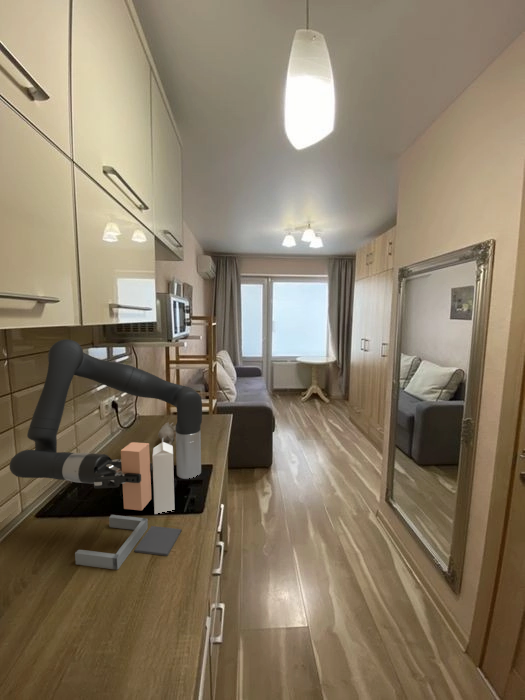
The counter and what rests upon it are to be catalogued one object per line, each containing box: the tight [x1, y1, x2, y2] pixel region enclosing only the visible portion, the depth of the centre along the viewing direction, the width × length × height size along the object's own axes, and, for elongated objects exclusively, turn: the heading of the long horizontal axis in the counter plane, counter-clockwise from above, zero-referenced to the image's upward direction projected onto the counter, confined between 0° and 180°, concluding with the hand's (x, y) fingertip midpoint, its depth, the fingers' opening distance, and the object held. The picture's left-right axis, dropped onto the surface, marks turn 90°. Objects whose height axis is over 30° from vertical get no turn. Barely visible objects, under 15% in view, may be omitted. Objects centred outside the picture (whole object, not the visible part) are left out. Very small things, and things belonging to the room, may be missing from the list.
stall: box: [74, 514, 149, 571], centre depth 81 cm, size 14×11×3 cm
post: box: [120, 441, 152, 511], centre depth 80 cm, size 5×5×16 cm
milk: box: [152, 442, 176, 515], centre depth 96 cm, size 6×6×22 cm
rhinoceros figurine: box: [157, 421, 176, 445], centre depth 142 cm, size 8×14×15 cm
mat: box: [133, 525, 182, 557], centre depth 83 cm, size 9×9×1 cm
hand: (145, 472), depth 80 cm, fingers closed on post, 5 cm apart
